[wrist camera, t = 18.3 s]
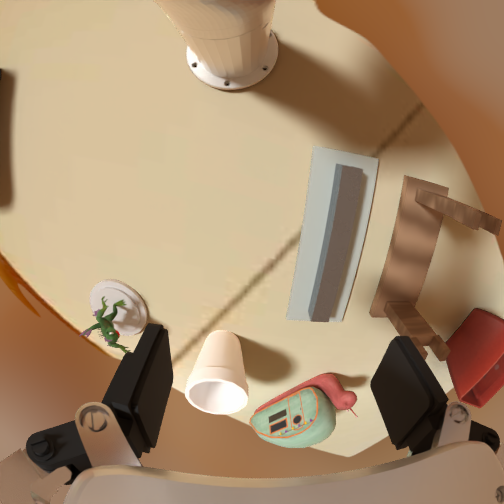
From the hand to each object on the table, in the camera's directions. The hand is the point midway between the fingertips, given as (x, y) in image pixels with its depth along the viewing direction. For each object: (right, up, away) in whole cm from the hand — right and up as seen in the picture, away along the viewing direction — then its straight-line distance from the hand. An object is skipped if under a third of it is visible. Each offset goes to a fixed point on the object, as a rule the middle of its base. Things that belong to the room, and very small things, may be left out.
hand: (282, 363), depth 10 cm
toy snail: (+9, -27, +44) cm, 52 cm away
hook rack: (+26, +4, +31) cm, 41 cm away
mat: (+11, +6, +30) cm, 33 cm away
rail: (+11, +6, +30) cm, 32 cm away
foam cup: (-6, -12, +38) cm, 40 cm away
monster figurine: (-26, -6, +35) cm, 44 cm away
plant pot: (+53, -16, +40) cm, 69 cm away
